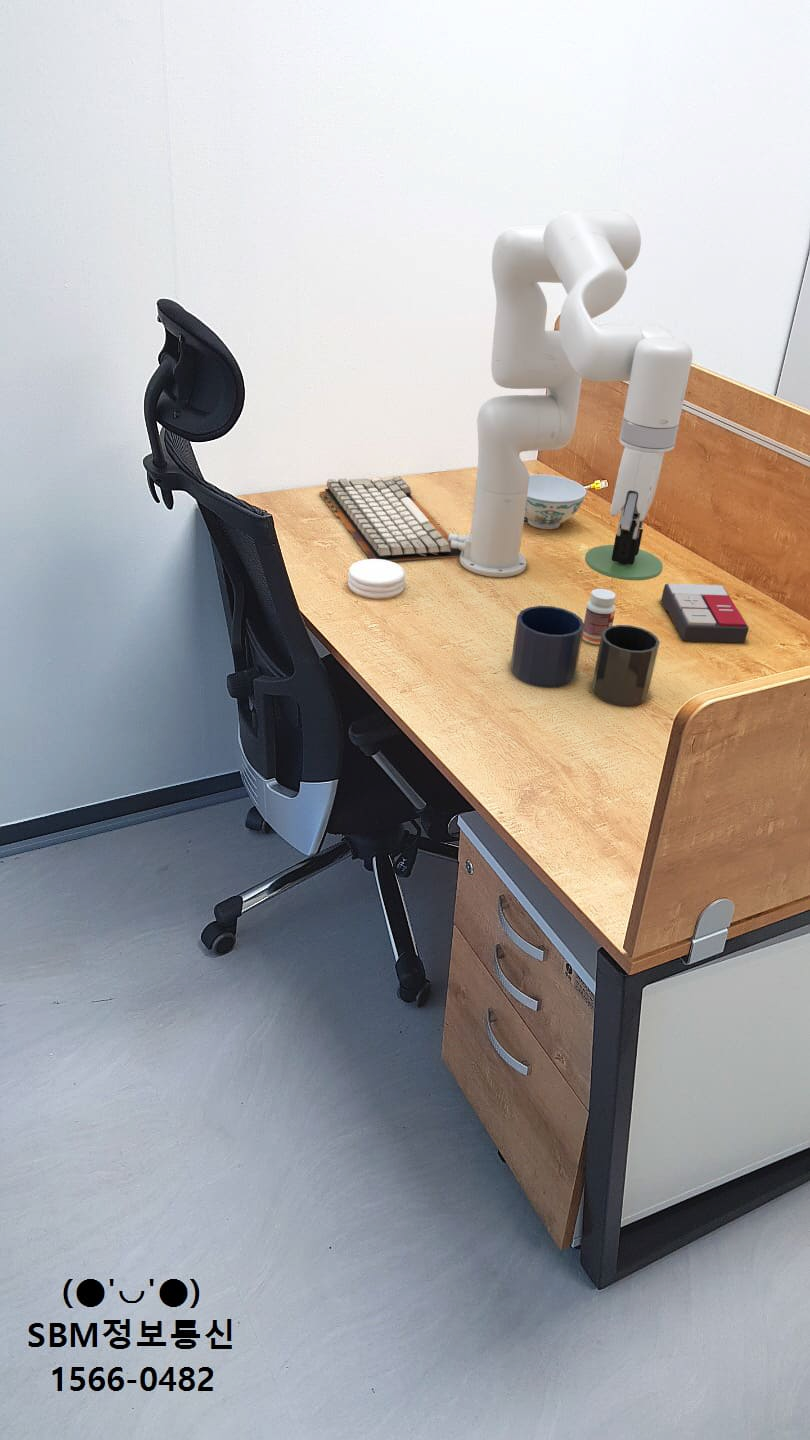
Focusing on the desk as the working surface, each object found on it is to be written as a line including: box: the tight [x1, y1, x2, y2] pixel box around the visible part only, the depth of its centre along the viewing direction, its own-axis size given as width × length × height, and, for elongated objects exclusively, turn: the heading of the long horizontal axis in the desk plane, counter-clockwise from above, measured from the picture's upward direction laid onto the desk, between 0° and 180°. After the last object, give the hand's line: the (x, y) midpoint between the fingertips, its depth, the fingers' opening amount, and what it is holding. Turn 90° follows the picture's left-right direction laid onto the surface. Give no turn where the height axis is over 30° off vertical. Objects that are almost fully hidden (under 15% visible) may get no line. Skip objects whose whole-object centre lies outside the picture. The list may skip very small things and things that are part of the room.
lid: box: [584, 526, 664, 582], centre depth 159 cm, size 11×11×6 cm
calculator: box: [660, 582, 750, 644], centre depth 192 cm, size 11×4×15 cm
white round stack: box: [347, 558, 406, 600], centre depth 195 cm, size 10×10×4 cm
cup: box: [591, 624, 661, 708], centre depth 168 cm, size 9×9×10 cm
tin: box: [510, 605, 584, 689], centre depth 172 cm, size 10×10×9 cm
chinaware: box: [524, 473, 587, 530], centre depth 225 cm, size 15×15×8 cm
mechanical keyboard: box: [319, 475, 462, 563], centre depth 221 cm, size 38×19×3 cm, turn 20°
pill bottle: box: [582, 588, 617, 646], centre depth 183 cm, size 5×5×8 cm
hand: (624, 556), depth 160 cm, fingers closed on lid, 2 cm apart
